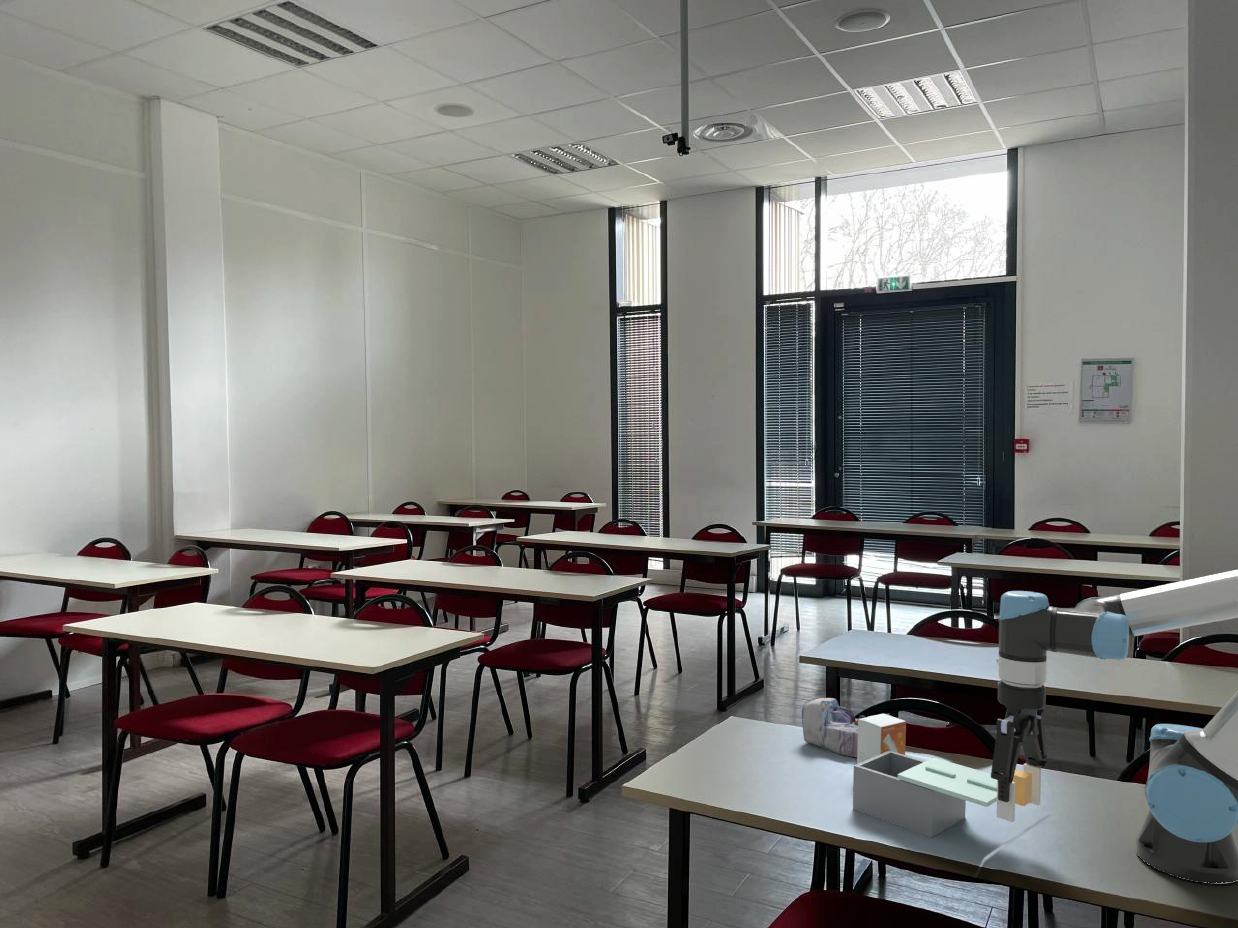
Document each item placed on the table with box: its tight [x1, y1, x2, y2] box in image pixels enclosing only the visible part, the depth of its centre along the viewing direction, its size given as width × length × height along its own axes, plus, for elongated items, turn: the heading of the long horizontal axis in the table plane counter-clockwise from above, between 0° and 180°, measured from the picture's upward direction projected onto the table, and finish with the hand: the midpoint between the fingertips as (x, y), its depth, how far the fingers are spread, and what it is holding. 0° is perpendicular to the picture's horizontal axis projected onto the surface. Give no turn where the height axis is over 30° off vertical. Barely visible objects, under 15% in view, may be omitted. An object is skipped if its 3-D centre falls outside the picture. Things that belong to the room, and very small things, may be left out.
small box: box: [856, 713, 907, 764], centre depth 182 cm, size 8×6×13 cm
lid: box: [898, 757, 1032, 808], centre depth 155 cm, size 21×14×5 cm, turn 42°
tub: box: [852, 751, 966, 839], centre depth 164 cm, size 16×13×9 cm
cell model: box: [801, 697, 875, 758], centre depth 202 cm, size 13×11×20 cm
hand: (1018, 810), depth 149 cm, fingers open, 10 cm apart
